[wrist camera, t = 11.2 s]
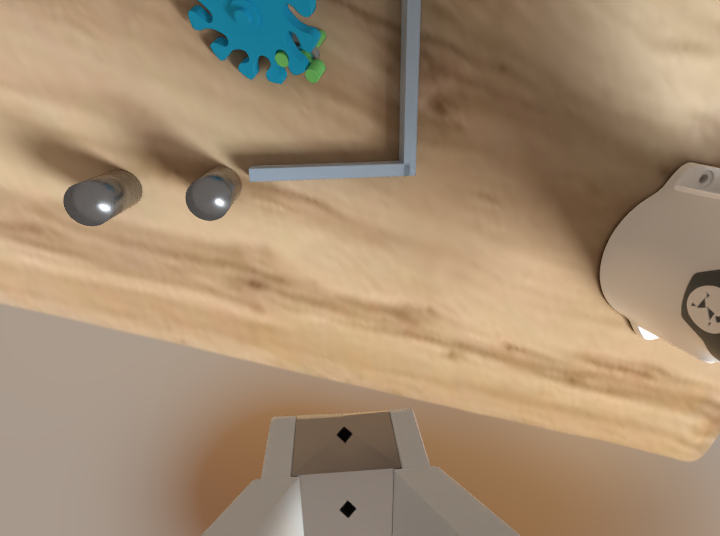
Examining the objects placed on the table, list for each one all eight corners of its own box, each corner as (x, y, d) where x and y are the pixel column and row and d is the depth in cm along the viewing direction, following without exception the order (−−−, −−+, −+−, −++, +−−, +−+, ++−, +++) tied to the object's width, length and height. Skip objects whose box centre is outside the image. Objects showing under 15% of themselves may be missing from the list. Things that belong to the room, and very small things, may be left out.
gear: (149, 0, 28) (205, -126, 21) (196, -38, 31) (259, -161, 24) (274, 120, 34) (354, 52, 26) (304, 78, 37) (384, 5, 29)
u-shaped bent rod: (416, -66, 30) (423, -77, 28) (409, 171, 37) (415, 175, 35) (225, -71, 29) (220, -83, 27) (252, 177, 35) (250, 181, 33)
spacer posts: (206, -108, 28) (181, -160, 22) (243, 201, 36) (232, 219, 30) (29, -114, 27) (-43, -171, 21) (107, 207, 35) (70, 227, 29)
